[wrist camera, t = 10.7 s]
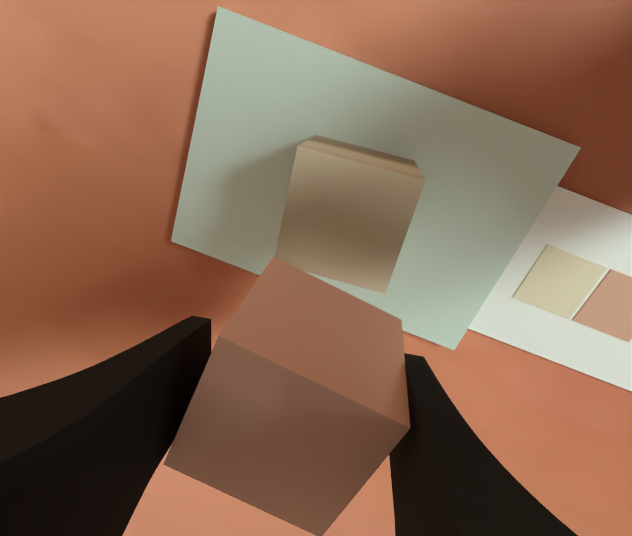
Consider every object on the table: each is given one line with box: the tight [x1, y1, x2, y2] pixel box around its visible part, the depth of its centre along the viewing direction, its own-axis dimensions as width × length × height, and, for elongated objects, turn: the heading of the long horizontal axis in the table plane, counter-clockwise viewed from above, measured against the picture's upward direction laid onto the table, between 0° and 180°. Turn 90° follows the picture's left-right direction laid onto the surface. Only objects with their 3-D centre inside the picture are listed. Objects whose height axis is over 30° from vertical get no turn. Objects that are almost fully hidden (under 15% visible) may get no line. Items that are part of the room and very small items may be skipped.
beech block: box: [274, 135, 426, 294], centre depth 16 cm, size 4×4×4 cm
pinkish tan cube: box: [164, 256, 410, 536], centre depth 11 cm, size 4×4×4 cm
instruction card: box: [468, 186, 632, 391], centre depth 19 cm, size 8×11×1 cm
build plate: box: [171, 6, 581, 350], centre depth 19 cm, size 11×16×1 cm
